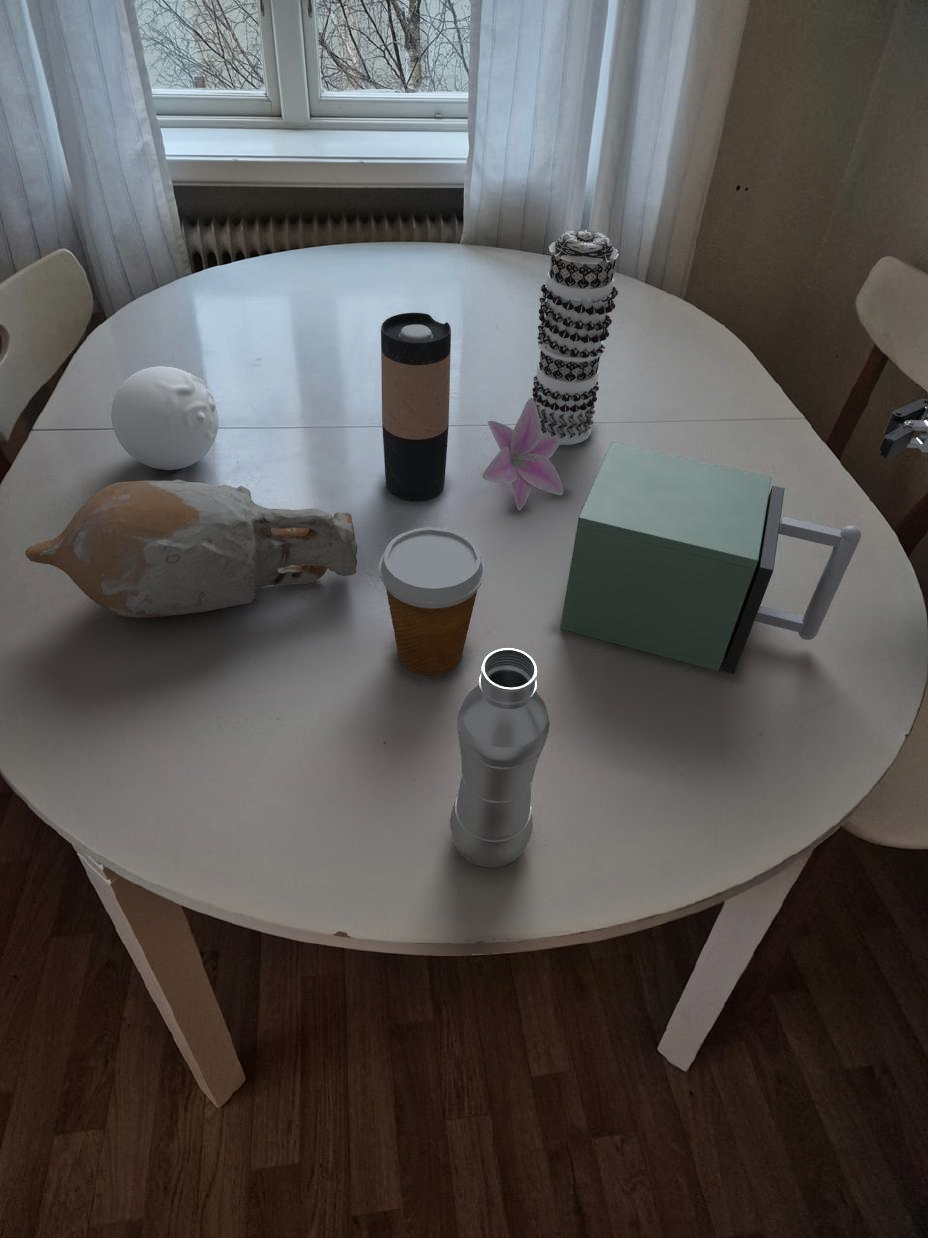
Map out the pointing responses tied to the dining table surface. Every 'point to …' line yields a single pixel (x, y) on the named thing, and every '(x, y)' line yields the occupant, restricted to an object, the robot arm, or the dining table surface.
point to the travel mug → (415, 404)
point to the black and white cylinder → (573, 333)
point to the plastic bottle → (498, 760)
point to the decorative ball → (165, 417)
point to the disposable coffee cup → (431, 595)
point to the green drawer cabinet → (665, 554)
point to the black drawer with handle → (751, 608)
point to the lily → (524, 456)
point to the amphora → (192, 547)
